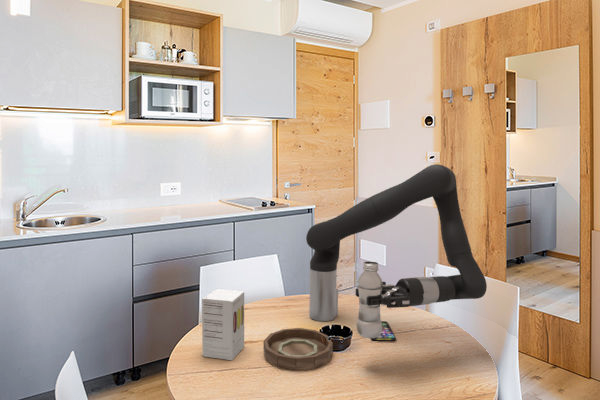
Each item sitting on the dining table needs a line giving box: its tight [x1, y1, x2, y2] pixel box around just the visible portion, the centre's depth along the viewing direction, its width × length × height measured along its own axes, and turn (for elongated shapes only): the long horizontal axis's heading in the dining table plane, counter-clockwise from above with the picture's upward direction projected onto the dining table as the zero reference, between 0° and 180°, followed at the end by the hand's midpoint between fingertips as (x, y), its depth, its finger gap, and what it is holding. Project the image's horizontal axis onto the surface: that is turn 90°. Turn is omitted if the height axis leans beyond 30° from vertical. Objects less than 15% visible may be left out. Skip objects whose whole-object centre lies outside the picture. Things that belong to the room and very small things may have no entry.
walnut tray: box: [263, 327, 334, 372], centre depth 122 cm, size 19×19×4 cm
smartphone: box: [370, 320, 397, 342], centre depth 138 cm, size 8×1×15 cm
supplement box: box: [201, 288, 245, 361], centre depth 122 cm, size 10×9×17 cm
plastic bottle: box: [356, 260, 384, 339], centre depth 113 cm, size 6×7×20 cm
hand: (361, 296), depth 112 cm, fingers closed on plastic bottle, 6 cm apart
